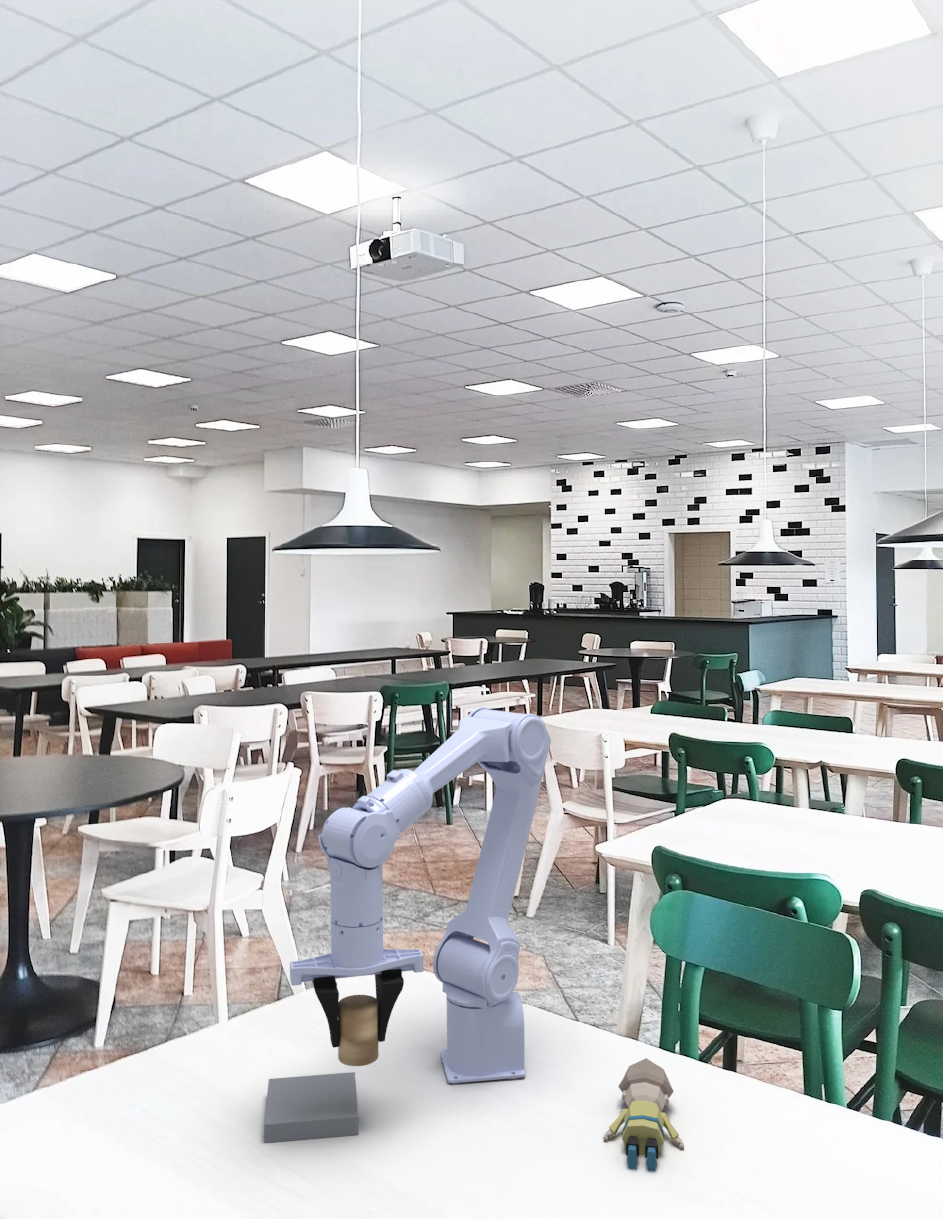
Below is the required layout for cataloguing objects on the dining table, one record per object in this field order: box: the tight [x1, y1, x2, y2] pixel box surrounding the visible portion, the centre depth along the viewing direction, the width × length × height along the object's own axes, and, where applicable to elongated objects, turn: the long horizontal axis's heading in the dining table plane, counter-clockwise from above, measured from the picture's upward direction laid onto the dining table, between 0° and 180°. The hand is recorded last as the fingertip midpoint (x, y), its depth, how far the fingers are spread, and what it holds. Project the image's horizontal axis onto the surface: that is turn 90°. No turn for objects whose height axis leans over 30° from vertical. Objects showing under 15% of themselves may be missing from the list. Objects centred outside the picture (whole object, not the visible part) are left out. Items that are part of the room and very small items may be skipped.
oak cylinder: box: [337, 994, 379, 1067], centre depth 113 cm, size 4×4×6 cm
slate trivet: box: [263, 1071, 359, 1144], centre depth 115 cm, size 10×10×2 cm
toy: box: [602, 1057, 685, 1172], centre depth 112 cm, size 8×5×15 cm
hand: (357, 1040), depth 113 cm, fingers closed on oak cylinder, 4 cm apart
